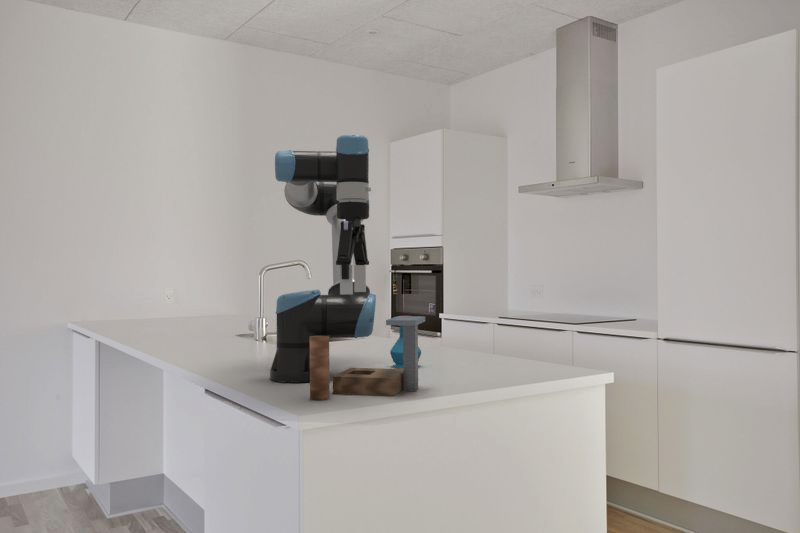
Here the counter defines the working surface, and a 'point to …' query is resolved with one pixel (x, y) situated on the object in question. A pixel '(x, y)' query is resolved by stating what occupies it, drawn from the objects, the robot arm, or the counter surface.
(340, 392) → the socket board
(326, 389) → the peg
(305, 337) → the robot arm
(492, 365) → the counter surface
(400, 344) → the perfume bottle
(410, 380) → the grey t-shaped block
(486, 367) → the counter surface
